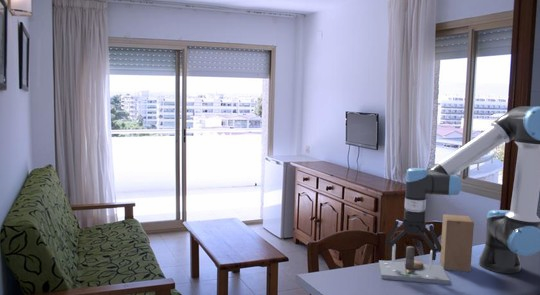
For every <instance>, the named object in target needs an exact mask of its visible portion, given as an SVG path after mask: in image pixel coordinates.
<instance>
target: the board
mask: <svg viewBox="0 0 540 295" xmlns="http://www.w3.org/2000/svg"><path fill="white" fill-rule="evenodd" d="M429 264H430V263H423V268H421V269H413V270H412V272H411V273H410V272H409V273H408V274H405V269H406V268H405V261H395V262H394V263H392V260H383V259H381V260H378V265H379V272H380V278H381V279H383V280H396V281H405V282H420V283H429V284H440V285H441V284H443V285H450V283H451V282H450V278H449V276H448V275H447V273H446V271H445V269H444V268H443V266H442V264H433V263H432V269H429Z"/></svg>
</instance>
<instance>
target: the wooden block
mask: <svg viewBox="0 0 540 295" xmlns="http://www.w3.org/2000/svg"><path fill="white" fill-rule="evenodd" d="M441 226H442V227H441V241H440V245H441V247H442V249H441V251H440V254H439V255H440V258H439V261H440V265H442V267H443V269H444V271H445V270H447V271H448V270H449V271H457V272H471V270H472V269H471V267H472V255H473V254H472V253H473V239H474V226H475V221H473V220H472V219H471V218H470V216H468V215H462V214H461V215H460V214H459V215H458V214H446V213H445V214H442V225H441Z"/></svg>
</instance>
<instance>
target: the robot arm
mask: <svg viewBox="0 0 540 295" xmlns="http://www.w3.org/2000/svg"><path fill="white" fill-rule="evenodd" d="M512 140H514V143H515V144H516V146H517V156H516V162H515V163H516V164H515V170H514V180H513V185H512V186H513V188H512V195H511V202H510V210H507V209H504V210H503V209H492V210H488V211H487V216H486V227H485V228H486V229H485V242H484V244H485V245H484V247H483V250H482V251H481V254H480V256H479V260H478V264H479V266H480V267H482V269H483V268H484V269H486V270H489V271H492V272H496V273H501V274H503V273H504V274H517V273H519V272H521V269H522V263H521V260H520V256H522V257H529V256H533V255H535V254H536V253H537V252H540V218H539V216H538V215H537V212H538V206H539V205H538V204H539V198H540V197H539V196H540V106H530V105H529V106H527V105H526V106H525V105H522V106H521V105H520V106H517V107H514V108H512V109H511V110H509V111H507V112H506V113H505V114H502V115H501V116H500V117H499V118H497V119H495V120H494V121H493V122H491V123H490V127H489V128H487V129H485V130H484V131H483V132H481V133H480V134H479V135H477V136H476V137H474V138H472V140H470V141H468V142H467V143H465V144H464V145H463V146H461V147H460V148H458V149H457V150H455V151H454V152H452V153H451V154H450V155H448V156H447V157H446V158H443V159H442V160H441V161H440V162H438V163H437V164H435V165H433V166H432V167H426V168H421V167H410V168H407V170H406V176H405V196H404V211H403V221H401V220H399V219H396V220H395V221H394V224H393V228H392V229H391V230H390V232H389V234H388V236H387V237H386V239H385V241H384V244H387V245H389V252H388V253H389V254H391V261H392V263H394V262H396V249H397V246H396V243H397V242H398V241H399V240H400V239H401V238H402V237H403V236H404V235H406V233H407V234H408V235H415V236H420V237H421V238H422V239H423V241H424V242H425V243H426V244H427V246H428V247H429V249H430V252H429V263H428V264H429V269H432V264H433V261H436V258H437V252H441V249H442V247H441V242H440V240H439V239H438V236H437V234H436V232H435V229H434V228H435V227H434V226H435V224H433V223H431V224H426V211H425V210H426V207H427V206H426V205H427V195H429V196H430V195H437V196H438V195H439V196H457V195H459V194H460V193H461V191H462V179H461V178H460V176H459V175H458V174H459V173H460V172H462V171H464V170H465V169H466V168H468V167H469V166H471V165H472V164H474V163H476V162H477V161H479V160H480V159H481V158H483V157H484V156H485V155H487V154H488V153H490V152H492V151H493V150H495V149H496V148H497V147H499V146H500V145H502V144H504V143H505V144H508V143H509V142H511V141H512ZM401 226H402V227H403V230H402V231H401V232H399V234H397V235H396V236H395V237H394V238H393V235H394V234H395V232H396V231H397V229H398V228H399V227H401ZM425 229H427V231H429V234H430V236H431V238H432V240H433V242H432V241H431V239H430V238H429V236H428V235H427V234H426V232H425ZM392 238H393V239H392ZM391 239H392V240H391Z"/></svg>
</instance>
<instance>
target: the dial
mask: <svg viewBox="0 0 540 295" xmlns="http://www.w3.org/2000/svg"><path fill="white" fill-rule="evenodd" d="M405 251H406V252H405V261H404V262H405V268H406V269H405V274H408V273H409V272H410V273H411V272H412V270H413V269H421V268H423V264H424V263H423V262H422V261H419V260H415V255H416V254H415V253H416V252H415V251H416V248H415V247H414V246H412V245H407V246H406V250H405Z"/></svg>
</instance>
